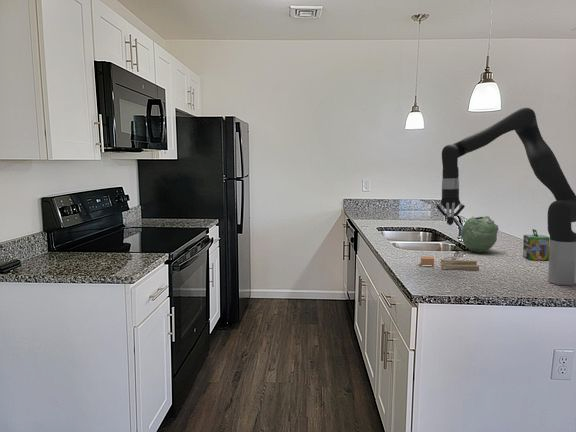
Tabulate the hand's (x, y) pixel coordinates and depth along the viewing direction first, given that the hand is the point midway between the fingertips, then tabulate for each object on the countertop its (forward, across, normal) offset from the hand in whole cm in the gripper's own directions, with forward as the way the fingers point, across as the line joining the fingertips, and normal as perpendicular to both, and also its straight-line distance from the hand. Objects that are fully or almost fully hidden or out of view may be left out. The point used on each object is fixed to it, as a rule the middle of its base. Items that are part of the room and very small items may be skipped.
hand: (450, 224), depth 194 cm
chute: (+20, +4, 0) cm, 21 cm away
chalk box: (+20, +41, +25) cm, 52 cm away
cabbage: (+20, +16, +36) cm, 45 cm away
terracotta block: (+20, -10, +1) cm, 23 cm away
